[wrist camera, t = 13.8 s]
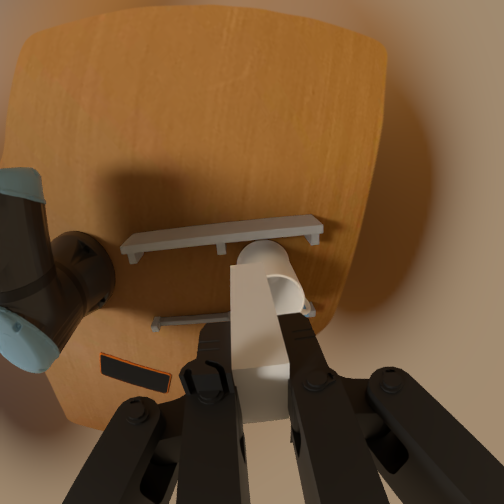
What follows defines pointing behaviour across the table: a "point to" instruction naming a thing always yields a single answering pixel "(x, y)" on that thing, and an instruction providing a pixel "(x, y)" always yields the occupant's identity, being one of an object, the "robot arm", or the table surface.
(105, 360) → the smartphone
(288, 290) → the mug
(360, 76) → the table surface
